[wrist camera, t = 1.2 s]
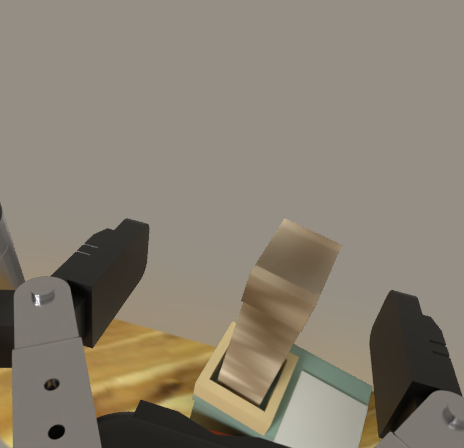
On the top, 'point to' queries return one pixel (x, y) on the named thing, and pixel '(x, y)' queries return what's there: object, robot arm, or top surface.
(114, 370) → the top surface
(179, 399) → the top surface
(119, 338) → the top surface
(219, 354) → the tool chest
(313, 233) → the wooden key
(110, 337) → the top surface
